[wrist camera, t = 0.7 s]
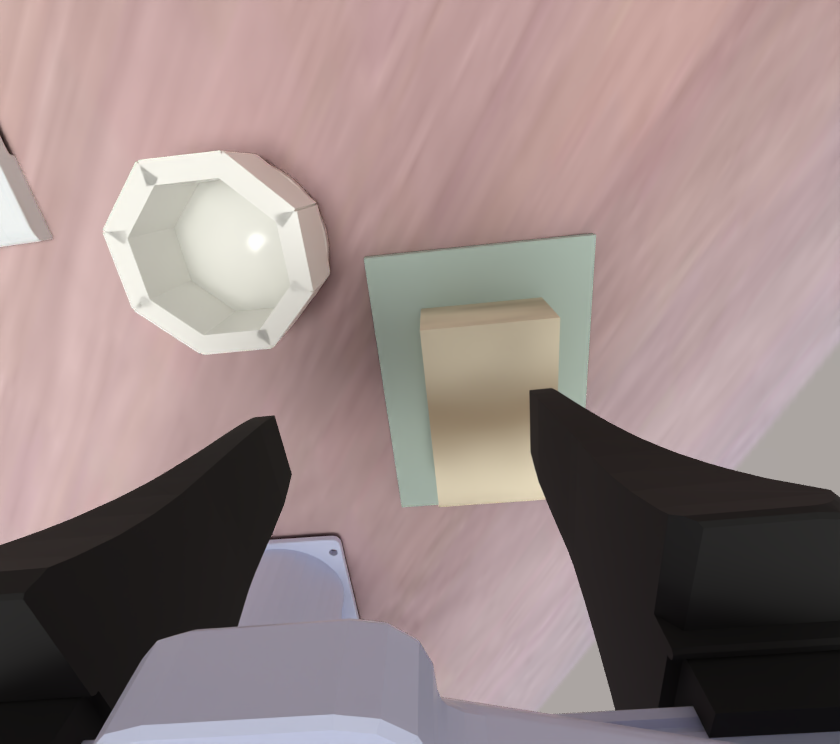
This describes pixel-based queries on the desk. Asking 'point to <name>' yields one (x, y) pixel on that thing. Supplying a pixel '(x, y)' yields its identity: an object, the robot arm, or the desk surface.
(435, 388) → the birch lid board
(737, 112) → the desk surface
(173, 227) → the ceramic bowl
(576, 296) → the rubber mat
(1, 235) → the external hard drive
